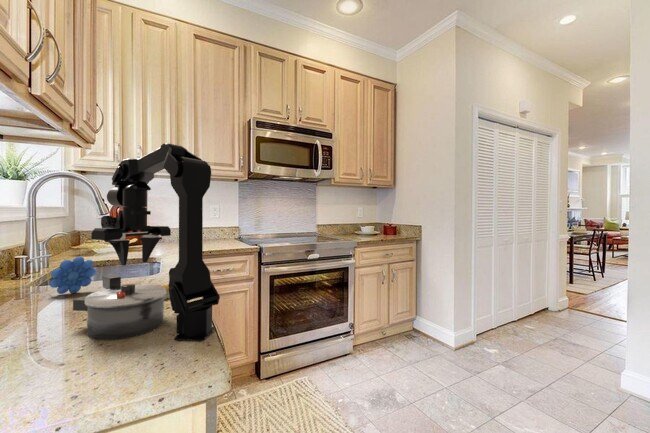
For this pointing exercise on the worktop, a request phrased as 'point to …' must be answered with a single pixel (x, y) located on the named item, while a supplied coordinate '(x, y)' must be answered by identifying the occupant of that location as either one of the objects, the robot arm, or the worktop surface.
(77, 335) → the worktop surface
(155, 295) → the cooker lid
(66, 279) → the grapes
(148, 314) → the cooker pot
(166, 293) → the bread roll
